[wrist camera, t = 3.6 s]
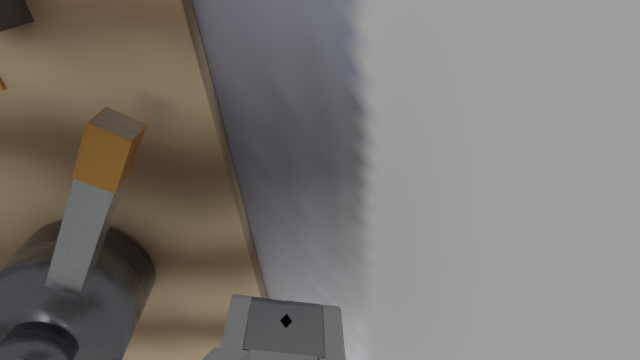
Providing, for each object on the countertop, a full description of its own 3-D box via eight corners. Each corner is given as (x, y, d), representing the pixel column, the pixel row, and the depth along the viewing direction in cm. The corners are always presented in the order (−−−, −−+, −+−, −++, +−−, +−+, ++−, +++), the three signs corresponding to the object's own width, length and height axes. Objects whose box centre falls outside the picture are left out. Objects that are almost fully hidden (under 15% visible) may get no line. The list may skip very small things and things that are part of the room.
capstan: (118, 361, 27) (71, 468, 21) (6, 333, 25) (-77, 443, 19) (228, 124, 18) (197, 203, 12) (68, 49, 16) (-53, 105, 10)
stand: (287, 378, 32) (285, 470, 26) (72, 400, 32) (24, 496, 26) (173, -70, 15) (102, -77, 10) (-264, -16, 16) (-573, 7, 10)
